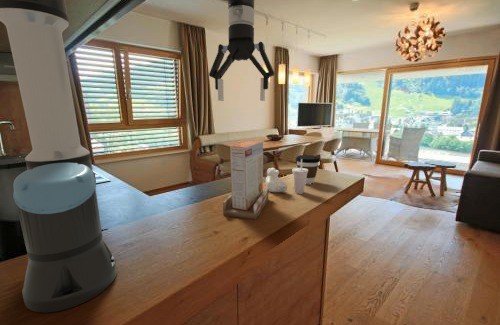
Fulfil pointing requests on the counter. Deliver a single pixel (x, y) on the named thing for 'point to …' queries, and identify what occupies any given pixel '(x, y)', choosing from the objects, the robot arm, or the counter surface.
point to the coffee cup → (308, 166)
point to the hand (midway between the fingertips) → (241, 100)
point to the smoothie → (299, 179)
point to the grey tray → (250, 213)
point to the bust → (275, 181)
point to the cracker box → (246, 173)
